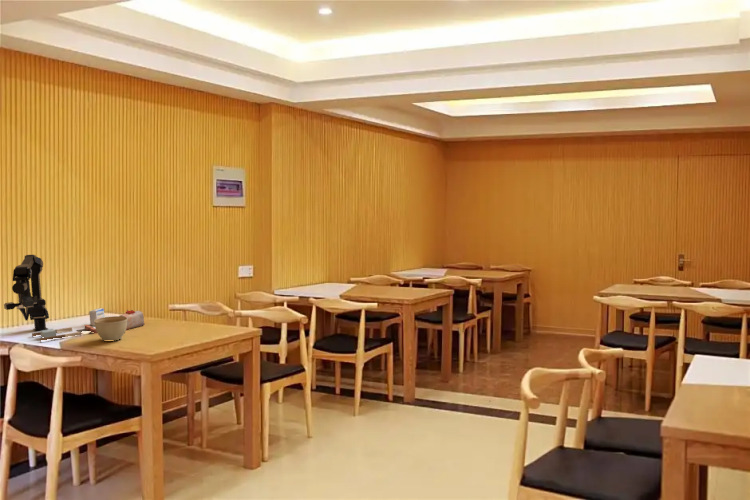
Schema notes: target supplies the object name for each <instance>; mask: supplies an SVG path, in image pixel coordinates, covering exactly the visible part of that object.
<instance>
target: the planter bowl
mask: <svg viewBox="0 0 750 500" xmlns="http://www.w3.org/2000/svg"><path fill="white" fill-rule="evenodd" d="M127 320H128V318H127V317H121V316H120V315H118V316H116V315H115V316H104V318H99V319H96V320H94V323H95V326H94V328H95V329H96V331H97V333H96V334H98V336H99V337H100V338H101V341H102V340H118V341H120V340H119V339H121V340H123V337H124V334H125V333H126V328H127Z"/></svg>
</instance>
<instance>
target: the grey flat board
mask: <svg viewBox="0 0 750 500" xmlns="http://www.w3.org/2000/svg"><path fill="white" fill-rule="evenodd" d="M83 327H84V328H82V329H76V330H75V331H76V332H73V327H72V326H70V327H64V328H58V329H55V330H56V333H58V334H59V335H57V334H56V336H51V337H45V338H41V337H40V338H39V341H40V340H47V339H53V338H62V337H68V336H75V335H81V336H82V333H81V332H82V331H91V332H94V333H96V334H98V333H97V331H96V328H95V327H94V326H90V325H89V324H84V326H83ZM62 332H64V333H66V334H63V333H62ZM68 332H69V333H68ZM70 332H71V333H70ZM94 333H93V334H94ZM36 335H41V332H40V331H36V332H32V333H31V336H36Z"/></svg>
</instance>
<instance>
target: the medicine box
mask: <svg viewBox="0 0 750 500" xmlns="http://www.w3.org/2000/svg"><path fill="white" fill-rule="evenodd" d="M88 313H89V324H90V325H89V326H91V327H95V323H94V320H96V319H99V318H104V317H105V309H104V308H101V307H100V308H95V309H92V310H89V312H88Z"/></svg>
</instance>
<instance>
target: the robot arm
mask: <svg viewBox="0 0 750 500" xmlns="http://www.w3.org/2000/svg"><path fill="white" fill-rule="evenodd" d="M43 267H44V261H43V259H42V258H41V257H38V256H36V255H35V254H26V255H24V259H23V260H22V261H21V263H20V264H18V265H17V266H15V268H14V269H13V272H12V273H13V274H12V282H15V283H14V284H13V285H12V287H11V290H12V292H13V293H14V294H17V295H18V296H17V298H18V300H17V301H18V302H16V303H14V302H13V301H11V302H5V303H4V304H3V306H4V307H3V309H4V310H7V311H8V310H15V308H16V309H17V310H19V311H20V312H21V314H22V317H23V318H24V320H25V321H28V320H30V321H33V324H34V327H33V328H32V330H33V331H35V332H40V331H43V330H49V328H48V327H47V325H46V324H47V323H46V320H47V319H49V318H50V314H49V310H48V309H47V308H46V305H47V301H46V299H44V298H43V297H42V290H41V289H42V287H41V272H42V271H43ZM30 283H31V284H30ZM29 318H30V319H29Z"/></svg>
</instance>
